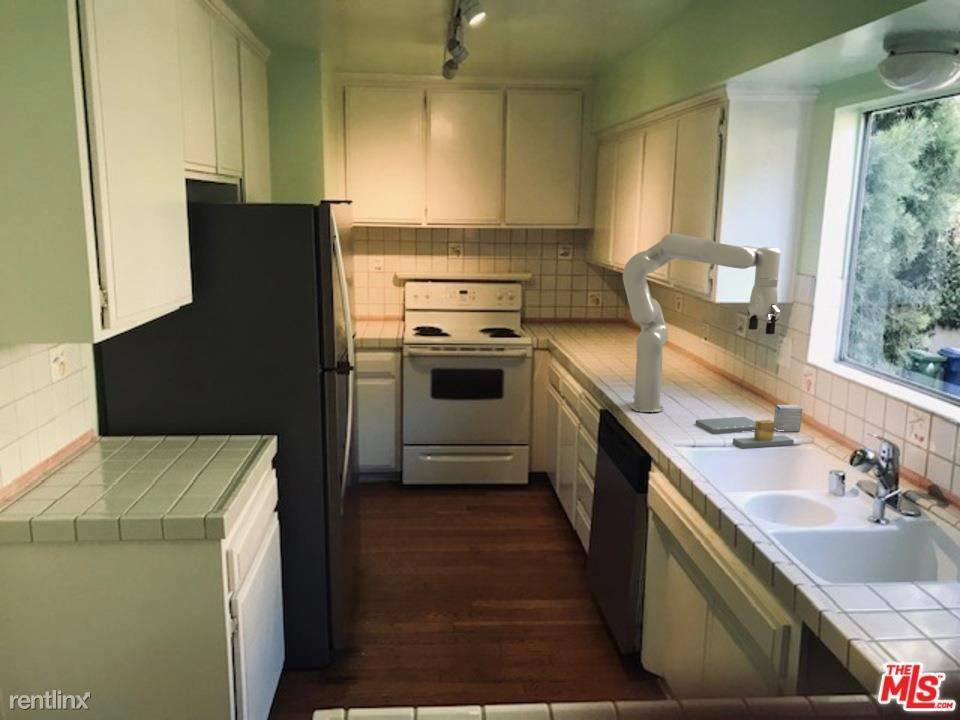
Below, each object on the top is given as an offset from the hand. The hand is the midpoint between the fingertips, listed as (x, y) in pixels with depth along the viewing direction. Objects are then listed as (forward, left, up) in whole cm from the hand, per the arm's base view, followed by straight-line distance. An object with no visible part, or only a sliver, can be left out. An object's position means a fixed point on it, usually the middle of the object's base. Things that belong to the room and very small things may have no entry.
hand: (761, 331), depth 261 cm
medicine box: (+11, +6, -34) cm, 36 cm away
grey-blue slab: (+23, -12, -33) cm, 42 cm away
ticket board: (+4, -12, -33) cm, 36 cm away
